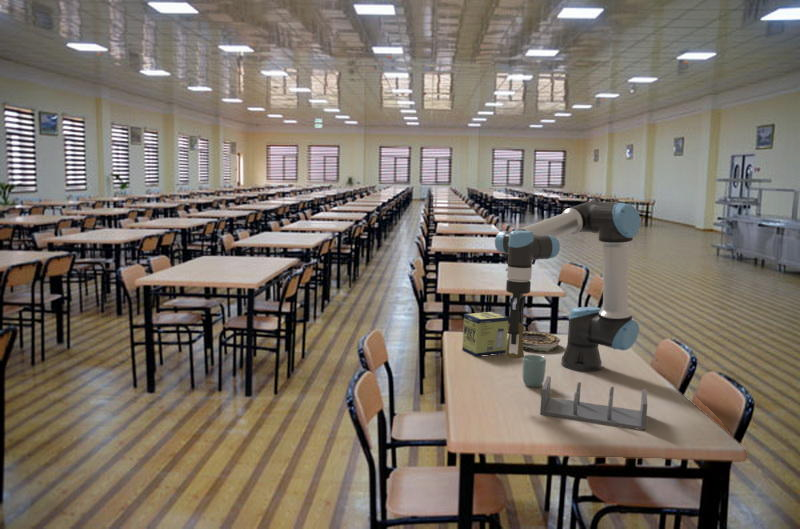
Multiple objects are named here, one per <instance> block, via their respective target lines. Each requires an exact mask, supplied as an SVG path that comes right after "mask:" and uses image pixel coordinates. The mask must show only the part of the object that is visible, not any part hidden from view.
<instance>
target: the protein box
mask: <svg viewBox="0 0 800 529" xmlns="http://www.w3.org/2000/svg"><path fill="white" fill-rule="evenodd" d="M508 324H509V317H508V316H506V315H504V314H501V313H498V312H496V311H487V312H486V311H484V312H476V313H463V326H462V327H463V329H462V330H463V332H462V350H461V351H463V350H464V351H463V352H465V351H466V352H465V353H467V352H468V353H467V354H469V353H470V354H469V355H471V354H472V355H471V356H473V355H474V356H473V357H475V356H479V357H483V356H482V355H488V356H492V355H491V354H496V355H503V354H502V353H505V352H506V346H507V339H508V335H509V334H508V332H509V331H508ZM499 353H500V354H499Z"/></svg>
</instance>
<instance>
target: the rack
mask: <svg viewBox="0 0 800 529" xmlns="http://www.w3.org/2000/svg"><path fill="white" fill-rule="evenodd" d="M543 383H544V384H543V386H542V388H541V398H540V409H539V411H540V412H539V415H543V416H550V417H557V418H561V419H562V418H563V419H568V420H576V421H582V422H588V423H593V424H594V423H595V424H599V425H606V424H607V426H612V425H614V427H619V426H622V427H621V428H625V427H630V428H629V429H632V428H638V429H645V430H646V422H647V413H648V394H647V393H648V392H647V389H642V390H641V398H640V400H641V401H640V410H638V409H631V408H624V407H619V406H618V407H617V406H613V403H614V390H615V386H609V394H608V404H607V405H602V404H599V403H598V404H596V403H590V402H583V401H581V389H582V388H581V387H582V382H580V381H577V382H576V391H574V395H573V400H571V399H570V400H569V399H564V398H563V399H562V398H556V397H551V383H552V376H549V375H548V376H546V379H545V381H544V382H543ZM638 429H637V430H638Z"/></svg>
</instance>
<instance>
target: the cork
mask: <svg viewBox="0 0 800 529" xmlns="http://www.w3.org/2000/svg"><path fill="white" fill-rule="evenodd" d="M509 325H510V322H508V332H509ZM523 331H525V325H524V323H523V324H522V323H520V322H519V330H518V332H519V333H518V334H519V343H518V354H515V353H511V354H510V353H509V344H510V334H508V335H507V339H508V341H507V346H506V352H505V354H504V357H506V358H509V359H523V357H524V356H525V354H524V353H525V352H524V348H523V338H522V333H523Z"/></svg>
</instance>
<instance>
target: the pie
mask: <svg viewBox="0 0 800 529" xmlns="http://www.w3.org/2000/svg"><path fill="white" fill-rule="evenodd" d="M522 338H523V349H525V348H527V349H530V350H536V351H535V352H543V351H549V350H552V349H554V348H556V347H557V345H559V344H560V342H561V341H562V340H561V339H560V338H558V336H556V335H554V334H552V333H549V332H547V333H543V332H539V331H533V330H524V331H523V333H522ZM507 341H508V338H507ZM527 349H526V350H527ZM530 350H529V351H530ZM554 350H555V349H554ZM552 351H553V350H552ZM549 352H550V351H549Z"/></svg>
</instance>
